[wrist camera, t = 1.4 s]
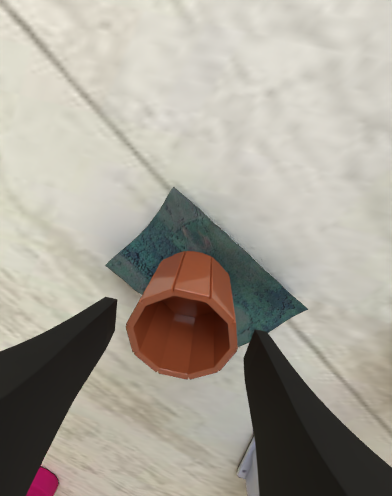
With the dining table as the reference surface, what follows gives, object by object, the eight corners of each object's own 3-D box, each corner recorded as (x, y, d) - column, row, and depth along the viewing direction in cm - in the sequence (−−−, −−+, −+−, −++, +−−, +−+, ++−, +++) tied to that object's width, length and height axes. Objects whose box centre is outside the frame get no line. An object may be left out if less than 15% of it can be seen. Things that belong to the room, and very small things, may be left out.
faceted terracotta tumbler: (220, 322, 17) (224, 387, 12) (148, 307, 17) (121, 365, 12) (240, 259, 15) (253, 305, 10) (158, 241, 15) (130, 278, 10)
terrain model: (301, 295, 17) (310, 311, 15) (230, 346, 20) (231, 365, 18) (175, 180, 15) (168, 183, 13) (114, 256, 17) (102, 267, 16)
